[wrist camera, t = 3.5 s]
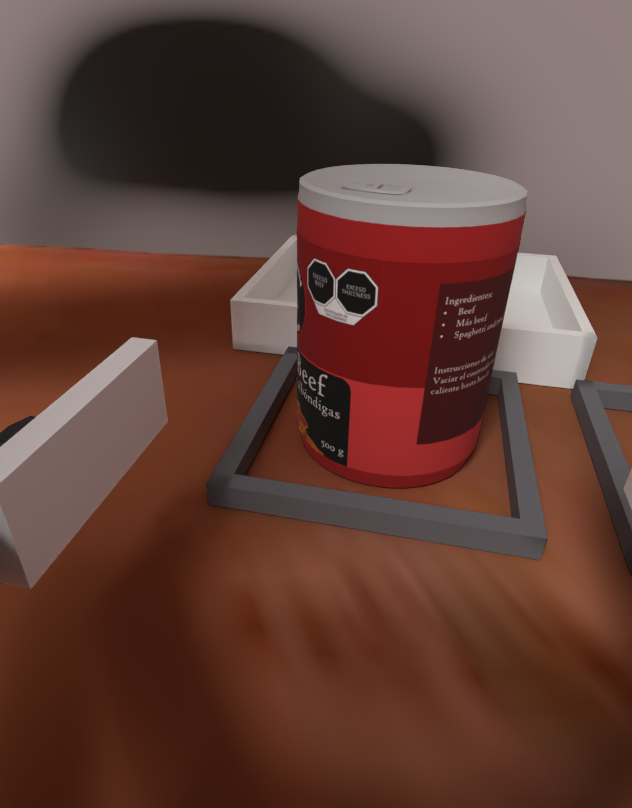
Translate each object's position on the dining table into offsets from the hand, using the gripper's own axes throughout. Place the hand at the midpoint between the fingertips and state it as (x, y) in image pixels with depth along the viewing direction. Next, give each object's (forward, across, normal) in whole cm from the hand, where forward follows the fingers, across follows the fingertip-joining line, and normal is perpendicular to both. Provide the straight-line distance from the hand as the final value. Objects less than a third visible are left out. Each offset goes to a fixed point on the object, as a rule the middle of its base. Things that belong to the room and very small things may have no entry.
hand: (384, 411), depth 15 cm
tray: (+22, 0, -6) cm, 23 cm away
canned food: (+8, 0, -7) cm, 11 cm away
